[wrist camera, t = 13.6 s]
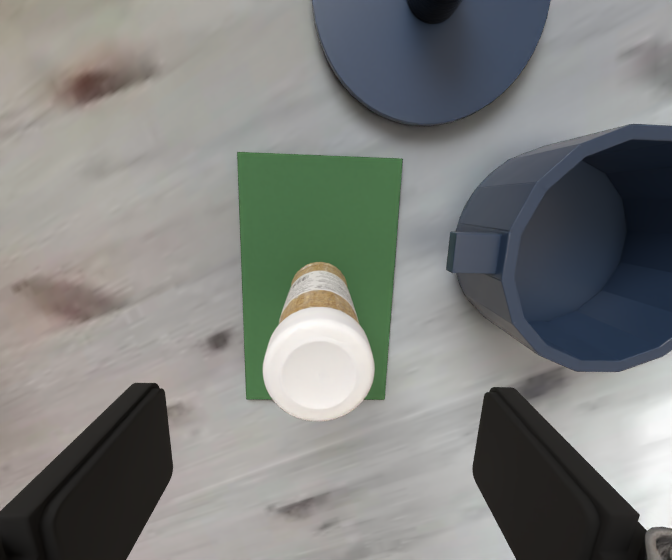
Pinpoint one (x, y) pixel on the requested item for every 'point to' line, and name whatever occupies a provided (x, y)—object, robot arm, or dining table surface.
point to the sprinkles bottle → (318, 349)
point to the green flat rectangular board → (316, 243)
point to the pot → (576, 248)
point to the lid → (428, 52)
